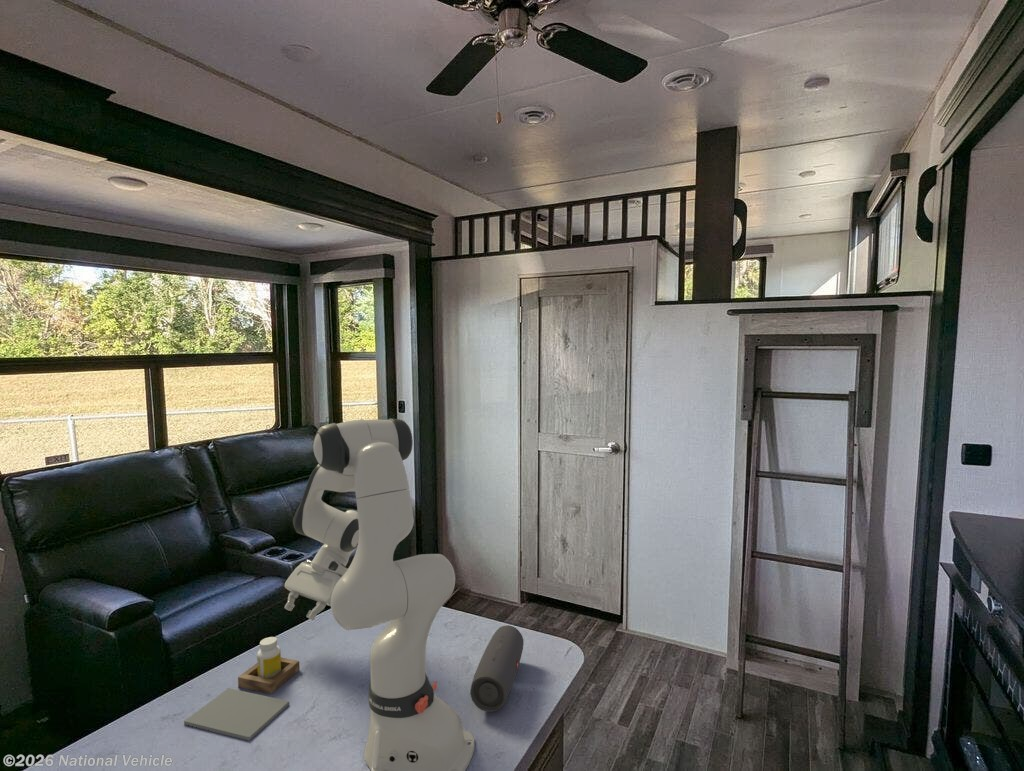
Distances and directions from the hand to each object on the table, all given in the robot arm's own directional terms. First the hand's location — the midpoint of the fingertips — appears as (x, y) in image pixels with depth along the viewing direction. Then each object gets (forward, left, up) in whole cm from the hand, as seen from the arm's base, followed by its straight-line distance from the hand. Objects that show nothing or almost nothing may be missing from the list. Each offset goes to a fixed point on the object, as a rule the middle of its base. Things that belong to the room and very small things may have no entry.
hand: (298, 614), depth 137 cm
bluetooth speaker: (-55, -5, -13) cm, 57 cm away
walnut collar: (+2, +8, -13) cm, 16 cm away
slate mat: (-1, +21, -13) cm, 25 cm away
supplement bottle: (+2, +8, -13) cm, 16 cm away
